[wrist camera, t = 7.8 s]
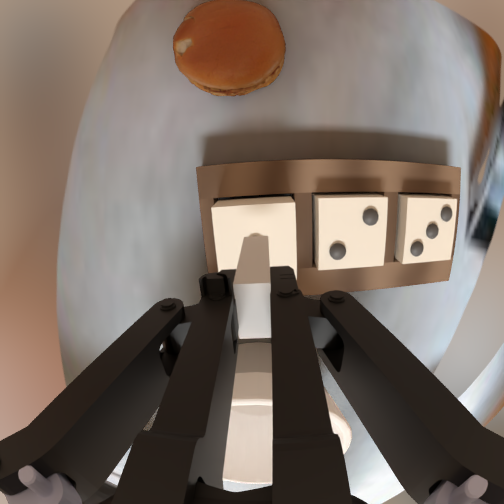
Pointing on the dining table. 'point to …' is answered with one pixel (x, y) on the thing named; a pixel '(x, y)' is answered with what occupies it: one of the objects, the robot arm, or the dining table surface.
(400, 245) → the tile three
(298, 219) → the board
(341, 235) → the tile two
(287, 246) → the tile one
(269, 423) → the bowl
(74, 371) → the dining table surface
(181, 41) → the burger
